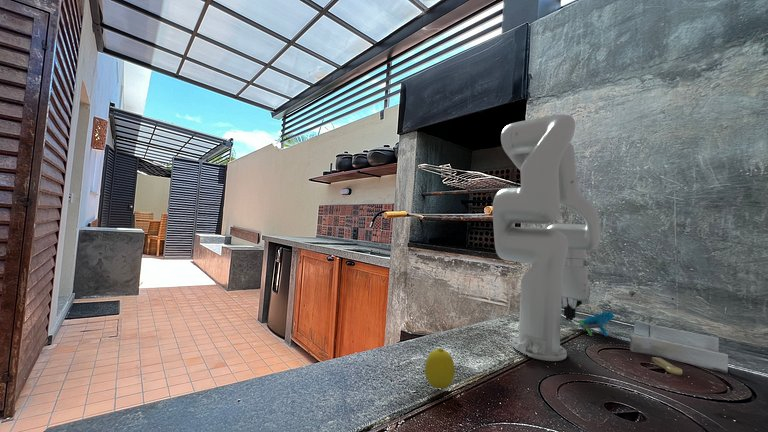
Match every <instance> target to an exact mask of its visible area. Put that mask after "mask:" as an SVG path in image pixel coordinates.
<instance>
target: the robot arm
mask: <svg viewBox="0 0 768 432" xmlns="http://www.w3.org/2000/svg"><path fill="white" fill-rule="evenodd" d="M575 131H576V121H575V119H574V117H573V116H572V115H570V114H554V115H546V116H542V117H536V118H531V119H526V120H521V121H516V122H512V123H509V124H507V125H506V126H504V128H503V129H502V131H501V134H500V142H501V146H502V149H503V151H504V152H505V154H506V155H507V156H508V158H509V159H510V161H512V163H513V164H514V166H515V167H516V168H517V169H518V170H519V171H520V187H505V188H502V189H500V190H498V191H497V192H496V194H495V195H494V198H493V201H492V208H491V209H492V210H491V211H492V223H493V225H492V226H493V237H494V239H493V240H494V247H495V252H496V255H497V257H499V258H500V259H502V260H504V261H508V262H516V263H523V264H528V265H531V266H530V267H529V269H528V270H527V271H526V272H525V273H524V274H523V275H522V277H521V280H520V295H519V296H520V297H519V298H520V300H519V318H518V319H519V320H518V321H519V322H518V325H519V326H518V337H515V338H513V339H512V340H511V347H512V348H513V347H514V348H515V349H516V350H518V351H520V352H522V353H525V354H527V355H528V356H527V357H528V358H532V359H536V360H540V361H546V362H559V361H563V360H565V359H566V358H567V356H568V354H567V353H568V352H567V350H566V349H565V348H564V347H562V346H561V330H562V328H561V323H562V322H561V320H562V306H563V316H564V317H565V320H566V321H571V322H572V321H573V320H574V319H576V314H577V313H576V312H577V308H578V307H579V306H581V305H590V304H591V300H590V295H591V278H590V272H589V268H587V266H591V265H592V261H589V260H587V258H586V256H587V255H586V254H587V251H593V250H596V249H597V248H598V246H599V245H600V242H601V228H600V219H599V214H598V211H597V209H596V208H595V206H594V205H593V204H592V202H590V201H589V200H588V199H587V198H586V197H585V196H584V195H582V193H580V192H579V189H578V188H579V187H578V186H579V185H578V177H577V169H576V168H577V165H576V157H575V155H576V154H575V148H574V146H573V144H572V143H571V142H572V139H573V137H574V134H575ZM560 206H563V207H565V208H567V209H571V210H572V211H574V212H576V213H577V214H579V215H580V216H581V217H582V218H583V219H584V222H585V224H578V223H577V224H575V223H554V222H556V221H557V220H558V218H559V216H560V208H561V207H560ZM551 223H553V224H551ZM516 224H531V225H544V224H545V225H546V224H550V225H549V226H547V227H523V226H515V225H516ZM569 299H572V302H571V304H570V301H569ZM514 348H513V349H514ZM515 349H514V350H515ZM516 350H515V351H516ZM518 351H517V352H518ZM520 352H519V353H520Z"/></svg>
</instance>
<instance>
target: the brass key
mask: <svg viewBox="0 0 768 432" xmlns="http://www.w3.org/2000/svg"><path fill="white" fill-rule="evenodd" d="M651 362H652V363H654V364H656V365H658V366H659V367H661V368H663V369H664V370H665V371H666V372H667V373H670V374H672V375H676V376H683V369H682V368H681V367H679V366H675V365H673V364H671V363H670V362H669V361H667V360H664V359H663V358H662V357H659V356H656V357H654V356H651Z"/></svg>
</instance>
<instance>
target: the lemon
mask: <svg viewBox="0 0 768 432" xmlns="http://www.w3.org/2000/svg"><path fill="white" fill-rule="evenodd" d="M424 366H425V367H424V370H425V371H424V372H425V376H426V380H427V382H428V383H429V384H430V385H431V387H433V388H435V387H436V388H441V389H442V390H443V389H444V388H445V389H447V388H448V387H450V385H452V383H453V381H454V379H455V374H456V371H455V370H456V369H455V363H454V359H453V357H452V356H451V354H450V353H449V352H447V350H445V349H444V348H442V347H438V348H437V349H434V350H432V351H430V353H429V354H428V355H427V358H426V361H425V365H424ZM436 388H435V389H436Z"/></svg>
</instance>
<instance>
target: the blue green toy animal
mask: <svg viewBox="0 0 768 432" xmlns="http://www.w3.org/2000/svg"><path fill="white" fill-rule="evenodd" d="M615 317H616V316H615V315H614V313H613V312H612V311H608V312H607V311H601V314H599V313H594V314H593V316H587V317H586V318H585V319H584V320H583V319H580V320H578V323H579V327H580V328H581V329H582V330H586V332H587V333H588V335H589V336H590V337H593V336H594V335H593V333H592V331H591V330H592V329H597V328H599V330H600V331H601V332H602V334H603V336H604V337H606V338H607V337H609V334H608V332H607V331H606V328H604V325H607V324H608V322H611V321H613V319H614V318H615ZM590 329H591V330H590Z"/></svg>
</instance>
